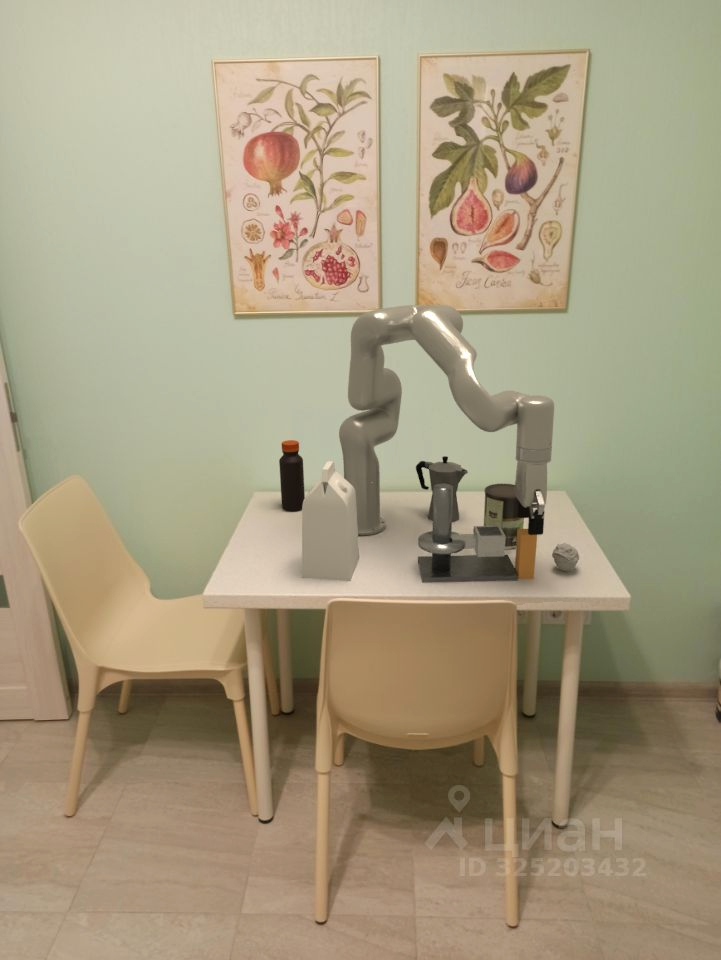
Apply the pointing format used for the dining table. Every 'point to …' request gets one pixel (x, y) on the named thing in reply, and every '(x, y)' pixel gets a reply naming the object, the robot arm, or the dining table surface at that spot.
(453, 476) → the coffeepot
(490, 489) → the coffee can
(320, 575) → the milk
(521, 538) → the orange rectangular block
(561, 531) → the dining table surface
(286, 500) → the vinegar
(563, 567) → the plaster head sculpture
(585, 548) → the dining table surface
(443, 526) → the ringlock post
